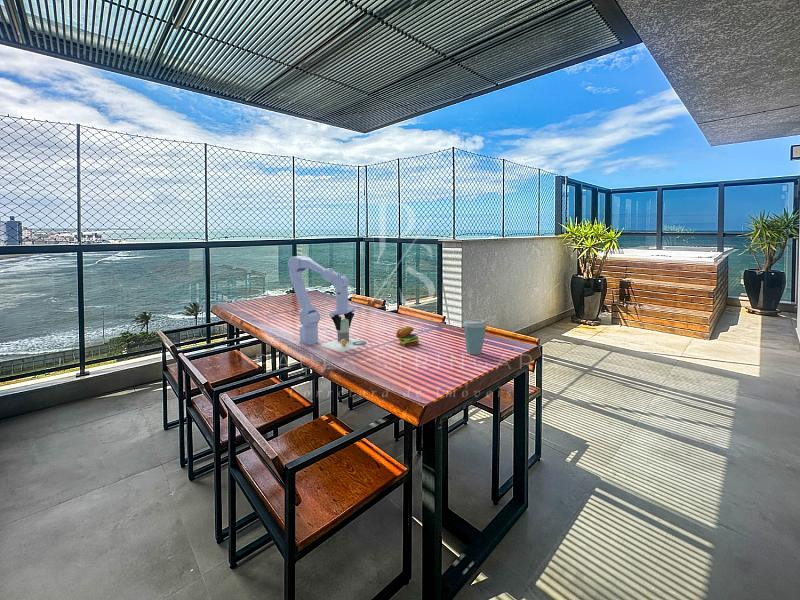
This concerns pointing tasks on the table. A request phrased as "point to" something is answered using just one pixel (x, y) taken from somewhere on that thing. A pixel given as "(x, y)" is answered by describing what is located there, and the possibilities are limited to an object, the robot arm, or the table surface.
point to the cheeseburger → (407, 336)
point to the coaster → (359, 343)
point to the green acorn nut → (344, 325)
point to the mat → (342, 348)
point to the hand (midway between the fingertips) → (343, 328)
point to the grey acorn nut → (343, 336)
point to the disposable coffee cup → (474, 335)
